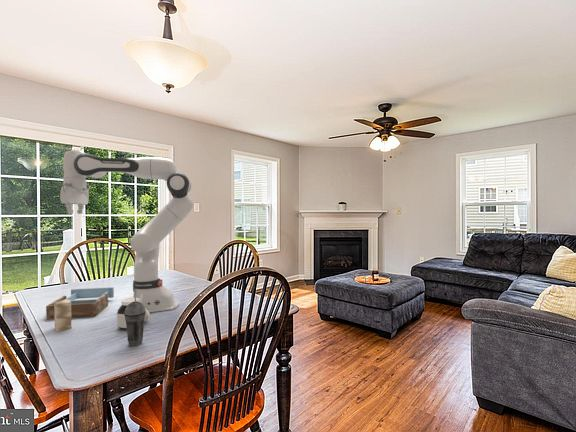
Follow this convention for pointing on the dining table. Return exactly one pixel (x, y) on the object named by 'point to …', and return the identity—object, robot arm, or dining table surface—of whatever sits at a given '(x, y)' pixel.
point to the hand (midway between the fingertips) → (75, 213)
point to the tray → (89, 294)
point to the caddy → (80, 308)
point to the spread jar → (120, 314)
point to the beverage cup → (135, 322)
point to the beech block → (62, 315)
